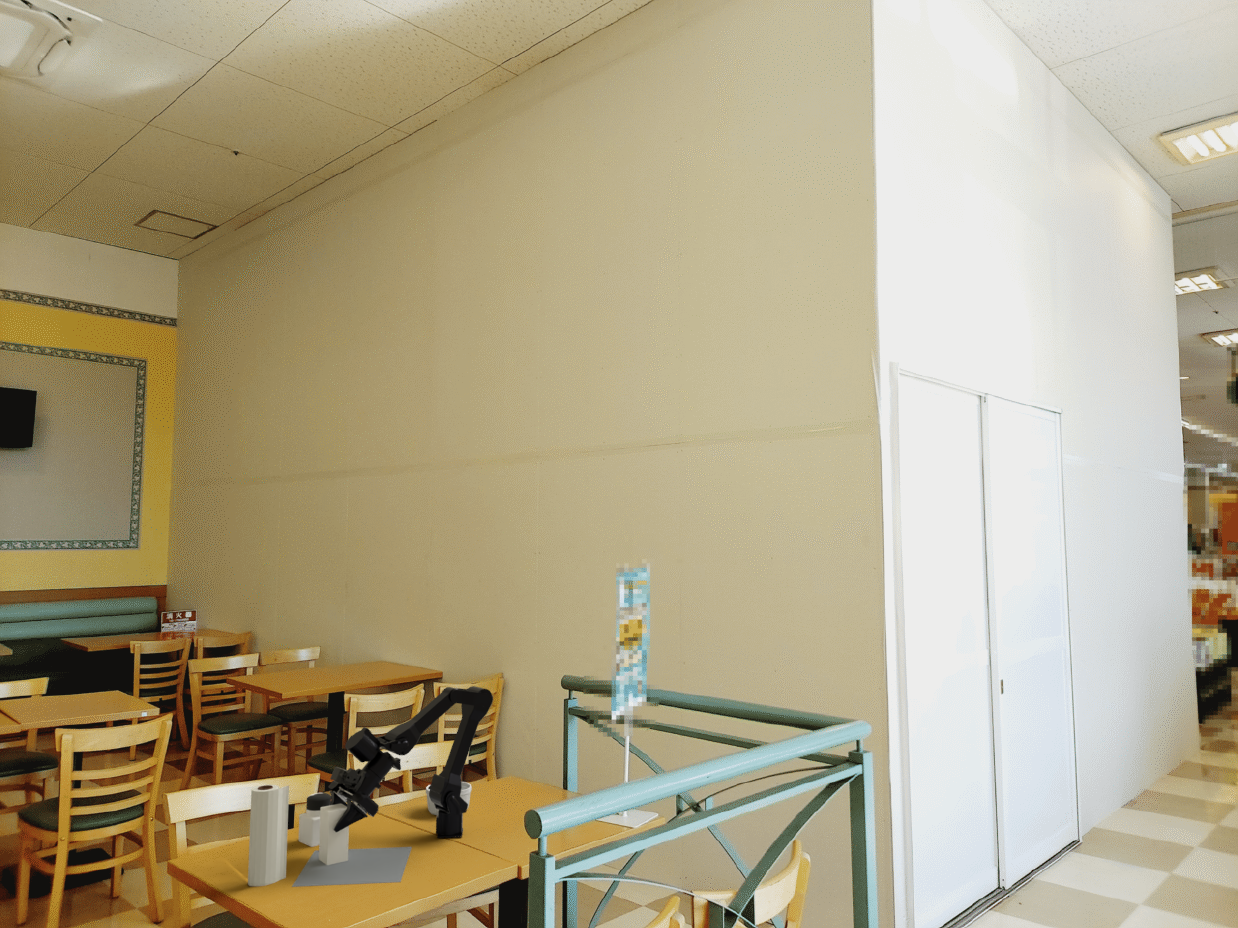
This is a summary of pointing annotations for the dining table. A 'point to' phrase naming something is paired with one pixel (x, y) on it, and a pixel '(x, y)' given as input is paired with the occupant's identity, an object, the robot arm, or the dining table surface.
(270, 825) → the paper towel roll
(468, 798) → the ramekin
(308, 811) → the medicine bottle
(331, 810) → the tall white pillar
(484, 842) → the dining table surface
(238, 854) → the dining table surface
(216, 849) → the dining table surface
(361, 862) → the mat
